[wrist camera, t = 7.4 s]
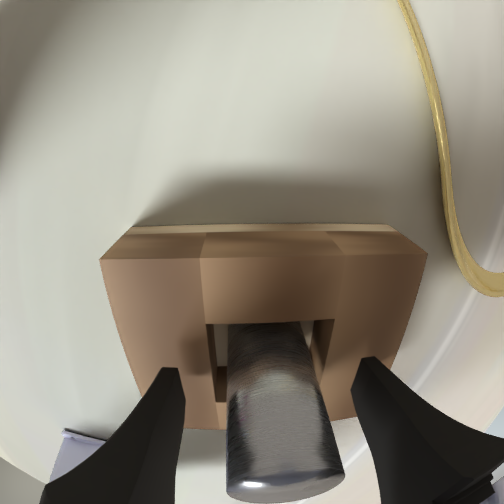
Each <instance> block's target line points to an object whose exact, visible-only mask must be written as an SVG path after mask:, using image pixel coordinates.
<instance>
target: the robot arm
mask: <svg viewBox="0 0 504 504" xmlns="http://www.w3.org/2000/svg"><path fill="white" fill-rule="evenodd" d="M350 391H351V395H352V400H353V404H354V408H355V411H356V414H357V417H358V419H359V422H360V424H361V427H362V430H363V432H364V435H365V437H366V440H367V443H368V445H369V448H370V450H371V453H372V457H373V460H374V464H375V469H376V473H377V478H378V484H379V490H380V497H381V504H504V476H503V477H502V478H500V479H499V480H498V481H497V482H495V483H494V484H493V485H492V484H491V482H490V481H491V480H492V479H493V476H492V472H493V471H494V470H495V469H497V467H499V466H500V465H501V464H502V463H504V438H500V437H496V436H493V435H489V434H486V433H483V432H480V431H478V430H475V429H472V428H470V427H468V426H466V425H464V424H462V423H460V422H458V421H456V420H454V419H452V418H450V417H449V416H447V415H445V414H444V413H442V412H441V411H439V410H438V409H436V408H434V407H433V406H432V405H430V404H429V403H428V402H426V401H425V400H424V399H422V398H421V397H420V396H419V395H417V394H416V393H415V392H414V391H412V390H411V389H410V388H409V387H408V386H407V385H406V384H404V383H403V382H402V381H401V380H400V379H399V378H398V377H397V376H396V375H395V374H393V373H392V372H391V371H390V370H389V369H388V368H387V367H386V366H385V365H384V364H383V363H382V362H381V361H380V360H378V359H377V358H376V357H375V356H371V357H365V358H361V361H360V364H359V367H358V370H357V372H356V375H355V378H354V381H353V384H352V387H351V389H350ZM185 406H186V398H185V394H184V390H183V386H182V382H181V378H180V374H179V370H178V368H175V367H162V368H161V369H160V370H159V372H158V374H157V376H156V377H155V379H154V380H153V382H152V384H151V385H150V387H149V388H148V390H147V391H146V393H145V394H144V396H143V397H142V399H141V400H140V401H139V403H138V404H137V406H136V407H135V408H134V410H133V411H132V412H131V414H130V415H129V416H128V417H127V419H126V420H125V421H124V422H123V424H122V425H121V426H120V427H119V428H118V429H117V430H116V432H115V433H114V434H113V435H112V436H111V437H110V438H109V439H108V440H107V441H102V440H98V439H94V438H90V437H86V436H82V435H78V434H75V433H71V432H68V431H64V430H63V431H62V433H61V434H62V435H63V436H64V440H63V443H62V445H61V448H60V451H59V453H58V456H57V459H56V462H55V465H54V468H53V471H52V474H51V477H50V481H49V483H48V484H46V485H45V488H44V490H43V492H42V496H41V500H40V503H39V504H175V475H176V466H177V461H178V455H179V449H180V444H181V438H182V433H183V427H184V421H185Z"/></svg>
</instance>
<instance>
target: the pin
mask: <svg viewBox="0 0 504 504" xmlns="http://www.w3.org/2000/svg"><path fill="white" fill-rule="evenodd" d="M344 478H345V473H344V469H343V465H342V462H341V458H340V455H339V451H338V447H337V444H336V440H335V437H334V433H333V430H332V426H331V423H330V419H329V416H328V412H327V409H326V406H325V402H324V399H323V396H322V392H321V389H320V385H319V382H318V379H317V375H316V372H315V369H314V366H313V362H312V359H311V356H310V353H309V349H308V346H307V343H306V340H305V337H304V333H303V330H302V327H301V324H300V321H293V322H272V323H240V324H229V326H228V351H227V410H226V491H227V494H228V495H229V496H230V497H232V498H234V499H237V500H240V501H244V502H250V503H263V504H270V503H284V502H291V501H297V500H302V499H306V498H310V497H313V496H316V495H319V494H322V493H324V492H326V491H328V490H330V489H332V488H334V487H336V486H337V485H339V484H340V483H341V482H342V481H343V480H344Z"/></svg>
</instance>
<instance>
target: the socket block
mask: <svg viewBox="0 0 504 504" xmlns="http://www.w3.org/2000/svg"><path fill="white" fill-rule="evenodd" d="M427 255H428V253H427V252H425V251H424V250H423V249H421V248H420V247H419V246H417V245H416V244H415V243H413V242H412V241H411V240H409V239H408V238H406V237H405V236H404V235H402V234H401V233H399V232H398V231H397V230H395V229H394V228H392V227H391V226H389V225H386V224H212V225H175V226H147V227H131V228H130V229H129V230H128V231H127V232H126V233H125V234H123V235H122V236H121V237H120V239H119V240H118V241H117V242H116V243H115V244H114V245H113V246H112V247H111V248H110V249H109V250H108V251H107V252H106V253H105V254H104V255H103V256H102V257H101V258H100V259H99V261H100V266H101V270H102V274H103V279H104V283H105V287H106V291H107V295H108V299H109V302H110V306H111V309H112V313H113V316H114V320H115V323H116V327H117V330H118V333H119V336H120V339H121V342H122V345H123V348H124V351H125V354H126V357H127V360H128V362H129V365H130V368H131V371H132V373H133V376H134V378H135V381H136V384H137V386H138V389H139V391H140V393H141V396H142V397H143V396H144V394H145V393H146V391H147V390H148V388H149V387H150V385H151V384H152V382H153V380H154V379H155V377H156V376H157V374H158V372H159V370H160V369H161V368H162V367H175V368H178V370H179V374H180V378H181V382H182V386H183V390H184V394H185V398H186V406H185V421H184V427H183V428H190V429H226V410H227V351H228V326H229V324H240V323H272V322H293V321H300V324H301V327H302V330H303V333H304V337H305V340H306V343H307V346H308V349H309V353H310V356H311V359H312V362H313V366H314V369H315V372H316V375H317V379H318V382H319V385H320V389H321V392H322V396H323V399H324V402H325V406H326V409H327V412H328V416H329V419H330V421H335V420H341V419H347V418H352V417H357V414H356V411H355V408H354V404H353V400H352V395H351V391H350V389H351V387H352V384H353V381H354V378H355V375H356V372H357V370H358V367H359V364H360V361H361V358H365V357H371V356H375V357H376V358H377V359H378V360H380V361H381V362H382V363H383V364H384V365H385V366H386V367H387V368H388V369H389V370H390V368H391V366H392V364H393V361H394V359H395V356H396V354H397V351H398V349H399V346H400V344H401V341H402V338H403V335H404V333H405V330H406V327H407V324H408V321H409V318H410V315H411V312H412V309H413V306H414V303H415V300H416V296H417V293H418V289H419V286H420V282H421V279H422V275H423V271H424V267H425V263H426V259H427Z"/></svg>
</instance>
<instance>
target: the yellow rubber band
mask: <svg viewBox="0 0 504 504" xmlns="http://www.w3.org/2000/svg"><path fill="white" fill-rule="evenodd" d="M397 1H398V4H399V6H400V8H401V11H402V13H403V16H404V18H405V21H406V23H407V26H408V29H409V31H410V34H411V37H412V40H413V43H414V46H415V49H416V52H417V55H418V58H419V62H420V65H421V69H422V72H423V76H424V80H425V84H426V88H427V92H428V96H429V101H430V105H431V110H432V115H433V121H434V127H435V133H436V139H437V146H438V154H439V163H440V173H441V185H442V197H443V207H444V213H445V220H446V226H447V231H448V235H449V240H450V243H451V247H452V250H453V254H454V256H455V259H456V262H457V264H458V266H459V268H460V270H461V272H462V274H463V276H464V277H465V279H466V280H467V282H468V283H469V284H470V285H471V286H472V287H473V288H474V289H475V290H477V291H478V292H480V293H482V294H484V295H487V296H490V297H502V296H504V272H502V273H493V272H489V271H487V270H485V269H483V268H482V267H480V266H479V265H478V264H477V263H476V262H475V261H474V260H473V258H472V257H471V255H470V254H469V252H468V250H467V248H466V246H465V244H464V242H463V239H462V236H461V233H460V230H459V226H458V222H457V217H456V212H455V206H454V199H453V190H452V178H451V166H450V156H449V147H448V140H447V133H446V126H445V120H444V115H443V110H442V104H441V100H440V95H439V91H438V86H437V82H436V78H435V75H434V71H433V67H432V64H431V60H430V57H429V54H428V50H427V47H426V44H425V41H424V38H423V36H422V33H421V30H420V27H419V25H418V22H417V19H416V17H415V14H414V12H413V10H412V7H411V5H410V3H409V0H397ZM453 227H454V228H453ZM463 258H464V259H463ZM465 262H466V263H465Z"/></svg>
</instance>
